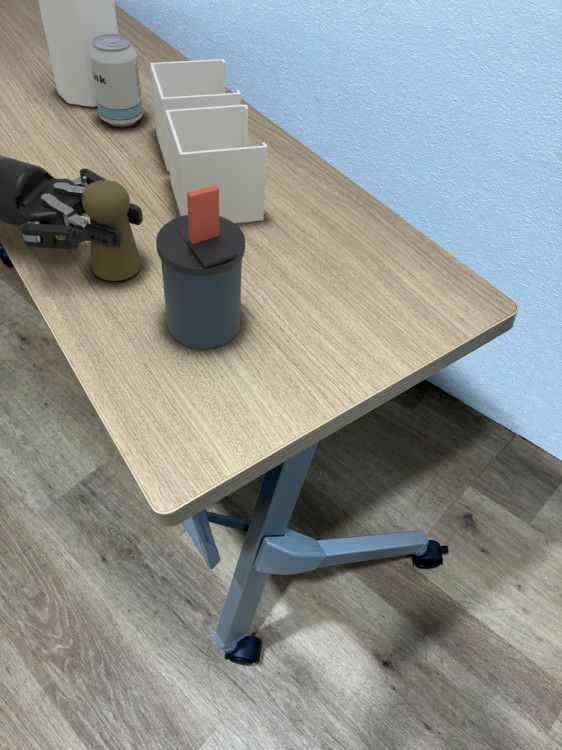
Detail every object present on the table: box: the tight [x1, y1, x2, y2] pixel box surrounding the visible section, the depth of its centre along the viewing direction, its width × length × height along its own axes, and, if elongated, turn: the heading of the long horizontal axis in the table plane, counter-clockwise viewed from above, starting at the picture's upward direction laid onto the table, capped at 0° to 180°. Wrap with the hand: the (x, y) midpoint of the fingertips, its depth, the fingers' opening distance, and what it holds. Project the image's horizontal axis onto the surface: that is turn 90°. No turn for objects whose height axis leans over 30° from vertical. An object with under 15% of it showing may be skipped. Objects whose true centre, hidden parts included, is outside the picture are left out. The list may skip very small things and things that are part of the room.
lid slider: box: [187, 185, 237, 267], centre depth 59 cm, size 4×4×6 cm
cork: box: [82, 179, 142, 282], centre depth 72 cm, size 6×6×11 cm
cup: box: [37, 0, 119, 108], centre depth 98 cm, size 11×11×18 cm
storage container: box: [149, 58, 268, 224], centre depth 87 cm, size 25×11×11 cm, turn 16°
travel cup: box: [155, 215, 246, 350], centre depth 67 cm, size 9×9×12 cm
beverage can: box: [89, 33, 144, 128], centre depth 95 cm, size 7×7×12 cm
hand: (130, 227), depth 71 cm, fingers closed on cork, 4 cm apart
